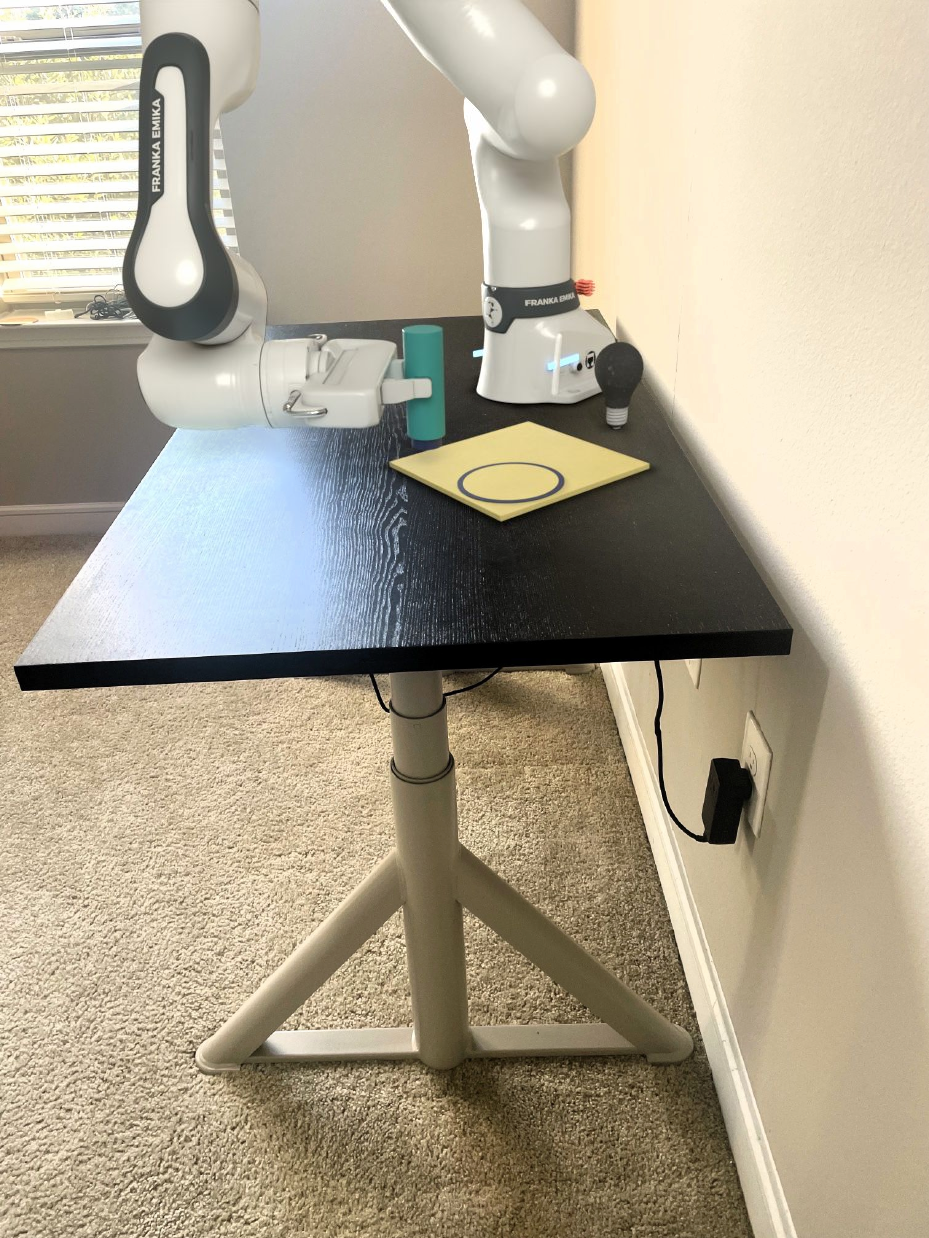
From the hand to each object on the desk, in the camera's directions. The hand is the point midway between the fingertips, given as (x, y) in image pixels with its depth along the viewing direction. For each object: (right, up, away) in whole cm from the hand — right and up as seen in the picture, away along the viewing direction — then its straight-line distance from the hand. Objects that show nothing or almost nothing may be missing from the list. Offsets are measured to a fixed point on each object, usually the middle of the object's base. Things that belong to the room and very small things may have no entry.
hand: (433, 379), depth 88 cm
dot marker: (-1, -6, +4) cm, 7 cm away
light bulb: (+21, -2, +15) cm, 26 cm away
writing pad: (+9, -8, +5) cm, 13 cm away
